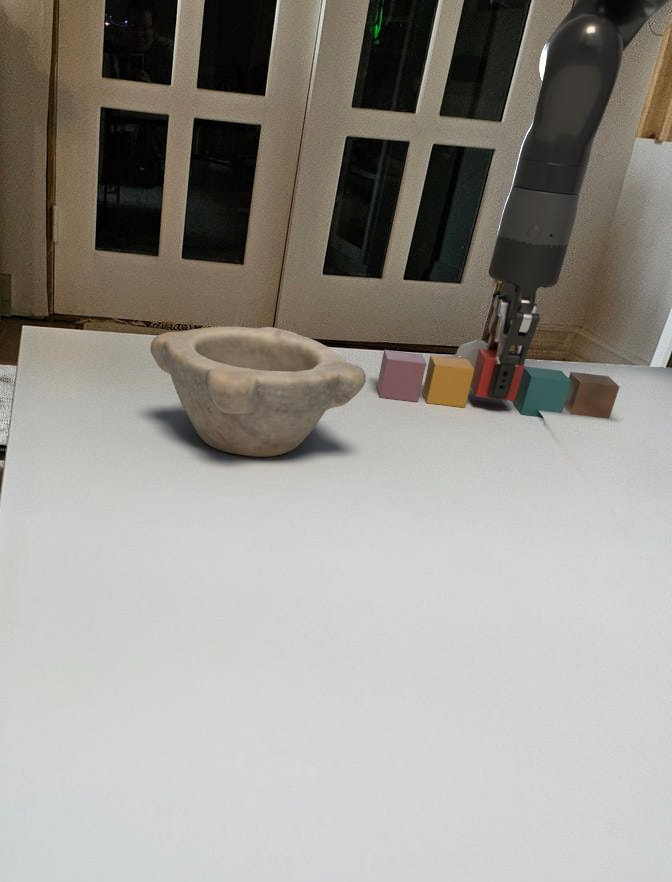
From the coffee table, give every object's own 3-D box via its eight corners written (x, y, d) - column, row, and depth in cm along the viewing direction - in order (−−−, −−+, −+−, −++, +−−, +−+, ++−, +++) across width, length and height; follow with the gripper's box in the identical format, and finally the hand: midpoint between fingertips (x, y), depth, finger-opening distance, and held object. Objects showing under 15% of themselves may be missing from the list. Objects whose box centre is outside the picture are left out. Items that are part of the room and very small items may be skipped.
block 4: (596, 413, 113) (608, 376, 111) (607, 424, 109) (620, 386, 107) (559, 408, 113) (570, 371, 111) (568, 420, 109) (580, 381, 107)
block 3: (550, 407, 113) (561, 370, 111) (559, 419, 109) (571, 380, 107) (513, 403, 113) (523, 365, 111) (521, 414, 109) (531, 376, 107)
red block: (507, 390, 113) (517, 352, 110) (514, 401, 109) (525, 362, 106) (469, 386, 113) (479, 348, 110) (475, 396, 109) (485, 357, 107)
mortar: (205, 480, 82) (217, 376, 77) (134, 417, 95) (140, 324, 90) (365, 467, 89) (384, 371, 84) (278, 410, 102) (291, 323, 97)
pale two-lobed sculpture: (457, 370, 129) (496, 365, 127) (448, 382, 123) (489, 377, 121) (454, 338, 128) (494, 332, 126) (446, 348, 121) (487, 342, 119)
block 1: (413, 391, 114) (421, 354, 111) (417, 402, 110) (426, 363, 108) (376, 387, 114) (384, 349, 112) (379, 397, 110) (387, 358, 108)
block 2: (459, 397, 113) (468, 359, 111) (465, 407, 110) (474, 369, 107) (422, 392, 114) (430, 355, 111) (426, 403, 110) (435, 364, 107)
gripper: (585, 249, 96) (537, 413, 104) (552, 231, 108) (512, 379, 117) (511, 241, 96) (470, 405, 105) (487, 223, 108) (452, 372, 117)
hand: (492, 390), depth 111 cm, fingers closed on red block, 4 cm apart
